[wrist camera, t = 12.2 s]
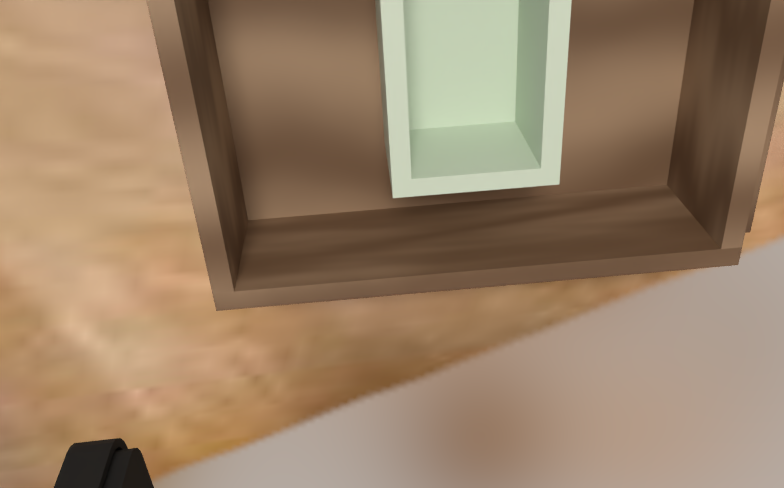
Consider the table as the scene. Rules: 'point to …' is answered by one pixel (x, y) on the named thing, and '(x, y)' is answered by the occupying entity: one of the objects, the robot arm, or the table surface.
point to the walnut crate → (467, 209)
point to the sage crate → (472, 93)
